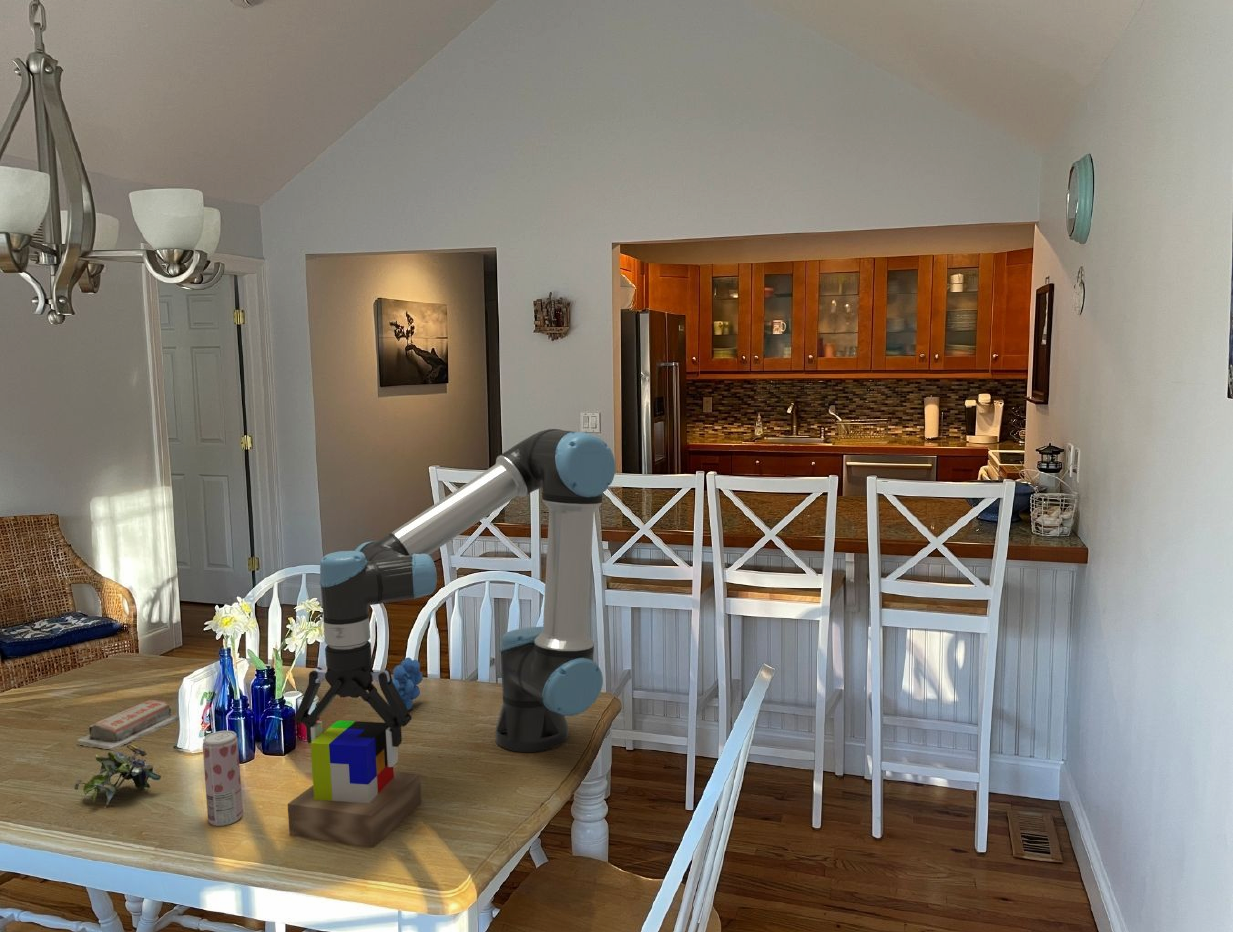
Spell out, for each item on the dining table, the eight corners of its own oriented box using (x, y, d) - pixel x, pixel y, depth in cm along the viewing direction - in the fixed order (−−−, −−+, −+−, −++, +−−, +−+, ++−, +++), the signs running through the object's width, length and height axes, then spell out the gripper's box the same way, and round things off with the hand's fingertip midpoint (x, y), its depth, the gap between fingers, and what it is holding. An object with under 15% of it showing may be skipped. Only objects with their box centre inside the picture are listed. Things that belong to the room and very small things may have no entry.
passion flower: (141, 816, 179) (176, 765, 178) (99, 834, 168) (136, 780, 167) (100, 778, 181) (134, 728, 180) (56, 794, 170) (92, 740, 170)
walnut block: (421, 805, 171) (419, 773, 170) (373, 850, 155) (371, 815, 155) (343, 795, 175) (342, 764, 175) (289, 837, 160) (287, 803, 160)
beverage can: (248, 810, 169) (242, 729, 167) (236, 826, 163) (230, 742, 162) (215, 811, 169) (209, 730, 167) (202, 827, 163) (196, 743, 161)
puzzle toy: (369, 803, 159) (366, 746, 158) (314, 799, 161) (310, 742, 160) (393, 776, 169) (391, 722, 168) (341, 773, 171) (338, 720, 170)
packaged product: (143, 695, 216) (178, 700, 212) (145, 716, 216) (179, 721, 213) (75, 725, 199) (111, 730, 195) (76, 747, 199) (113, 753, 196)
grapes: (406, 699, 222) (404, 649, 220) (430, 703, 219) (428, 652, 218) (374, 717, 211) (371, 664, 210) (398, 721, 209) (396, 668, 207)
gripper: (268, 648, 160) (277, 768, 163) (409, 651, 156) (416, 774, 159) (290, 634, 167) (298, 749, 170) (425, 637, 163) (432, 755, 166)
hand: (355, 762), depth 164 cm, fingers open, 13 cm apart
